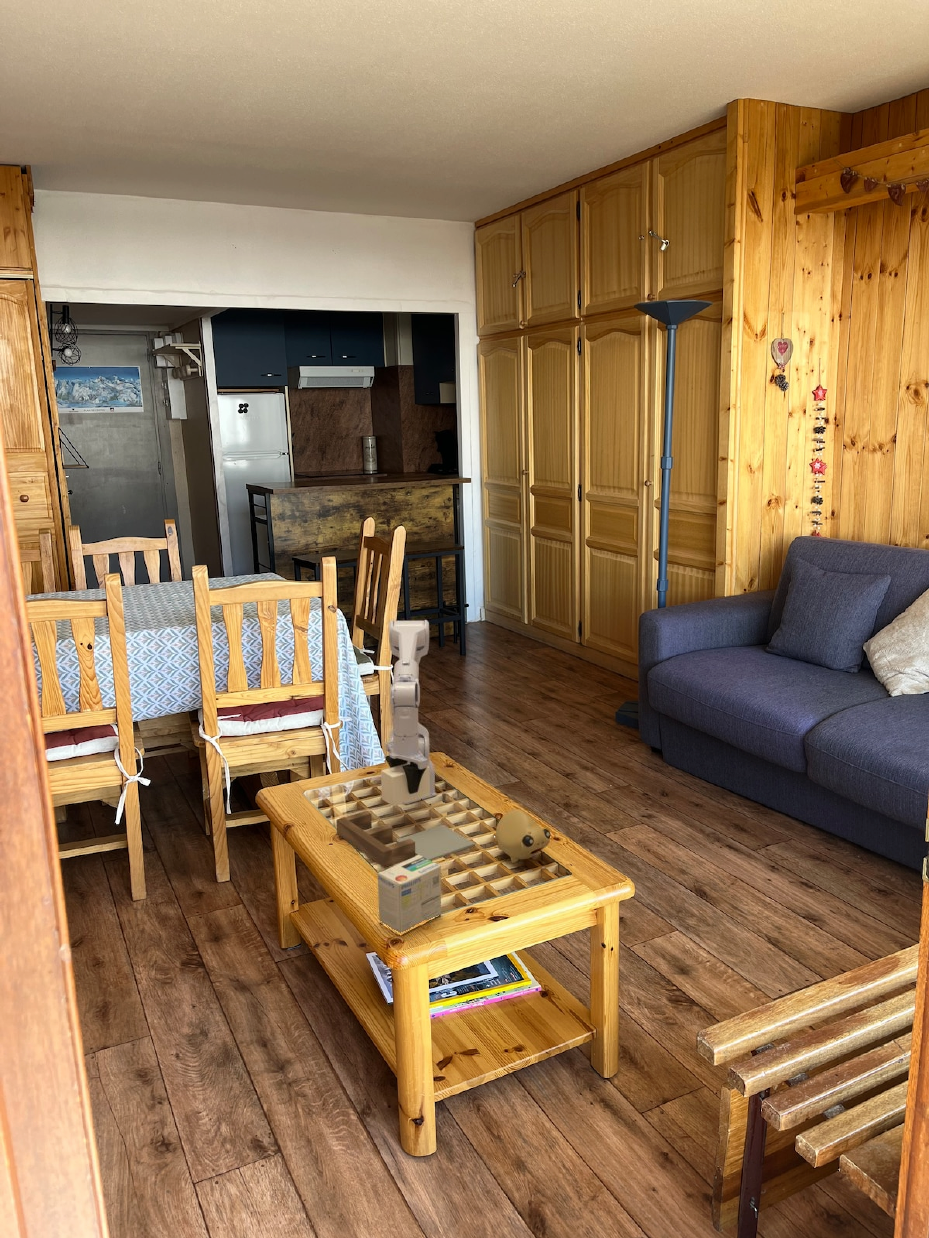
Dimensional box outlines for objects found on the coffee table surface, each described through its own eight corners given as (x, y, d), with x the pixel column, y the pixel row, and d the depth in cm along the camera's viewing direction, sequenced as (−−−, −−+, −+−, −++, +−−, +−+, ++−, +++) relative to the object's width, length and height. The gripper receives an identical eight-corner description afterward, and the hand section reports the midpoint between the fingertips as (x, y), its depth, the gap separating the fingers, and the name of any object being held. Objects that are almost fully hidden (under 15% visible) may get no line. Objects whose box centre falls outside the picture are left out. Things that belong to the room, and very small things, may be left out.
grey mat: (443, 826, 221) (443, 824, 220) (474, 845, 211) (474, 843, 211) (395, 841, 213) (395, 839, 213) (426, 862, 204) (426, 860, 203)
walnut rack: (367, 824, 222) (366, 810, 221) (415, 856, 206) (415, 841, 205) (336, 833, 217) (336, 819, 216) (383, 867, 201) (383, 852, 201)
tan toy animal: (522, 876, 198) (523, 828, 195) (487, 854, 207) (487, 809, 205) (558, 862, 203) (559, 816, 201) (522, 842, 213) (522, 797, 210)
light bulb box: (419, 903, 187) (418, 852, 185) (442, 916, 183) (442, 864, 180) (377, 923, 180) (375, 871, 178) (400, 937, 175) (399, 884, 173)
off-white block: (417, 788, 225) (417, 760, 223) (430, 795, 221) (429, 766, 219) (381, 798, 219) (381, 770, 217) (393, 806, 215) (392, 777, 214)
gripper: (373, 727, 220) (375, 782, 223) (408, 745, 209) (409, 803, 212) (399, 721, 224) (400, 775, 227) (435, 738, 213) (435, 795, 216)
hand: (406, 788), depth 220 cm, fingers closed on off-white block, 5 cm apart
